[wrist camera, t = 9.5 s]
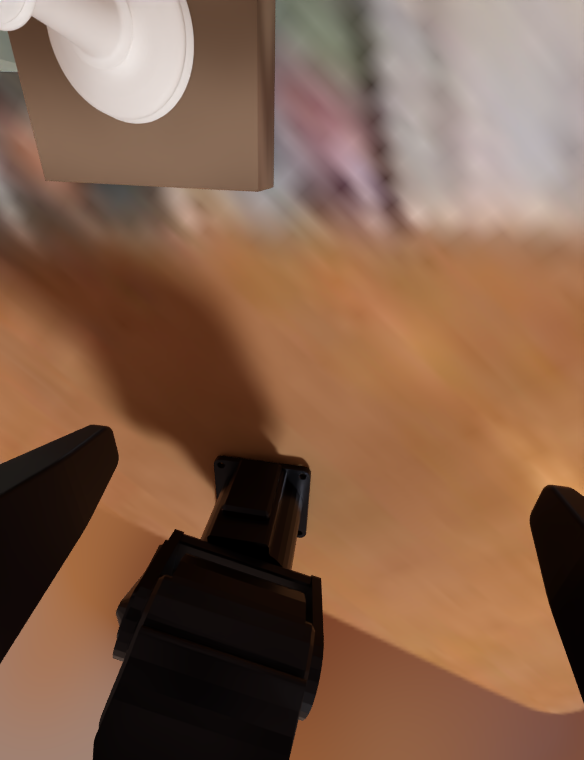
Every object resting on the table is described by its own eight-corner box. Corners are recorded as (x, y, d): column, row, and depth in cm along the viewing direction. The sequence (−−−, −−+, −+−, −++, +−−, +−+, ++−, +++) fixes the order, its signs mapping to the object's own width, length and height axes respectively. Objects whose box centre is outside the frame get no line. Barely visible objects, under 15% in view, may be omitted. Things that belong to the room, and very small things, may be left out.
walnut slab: (273, 187, 17) (258, 191, 15) (89, 178, 18) (45, 180, 16) (276, -112, 13) (255, -181, 10) (33, -102, 14) (-42, -161, 11)
